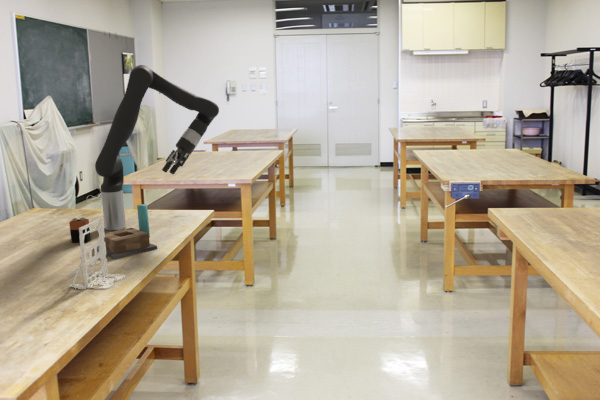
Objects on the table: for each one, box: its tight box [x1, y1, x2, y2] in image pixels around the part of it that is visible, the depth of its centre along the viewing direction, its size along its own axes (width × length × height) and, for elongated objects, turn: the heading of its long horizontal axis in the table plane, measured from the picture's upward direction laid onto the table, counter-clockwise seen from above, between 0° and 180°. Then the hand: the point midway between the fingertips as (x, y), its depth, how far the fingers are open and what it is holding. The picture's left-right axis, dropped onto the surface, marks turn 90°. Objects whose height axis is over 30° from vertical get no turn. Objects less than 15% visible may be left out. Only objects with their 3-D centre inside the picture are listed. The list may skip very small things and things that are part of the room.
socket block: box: [92, 227, 158, 260], centre depth 229 cm, size 18×18×6 cm
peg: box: [137, 203, 151, 239], centre depth 245 cm, size 4×4×14 cm
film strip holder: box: [69, 218, 126, 290], centre depth 191 cm, size 14×14×20 cm
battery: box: [68, 217, 92, 244], centre depth 242 cm, size 4×7×10 cm, turn 90°
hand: (167, 172), depth 248 cm, fingers open, 8 cm apart
